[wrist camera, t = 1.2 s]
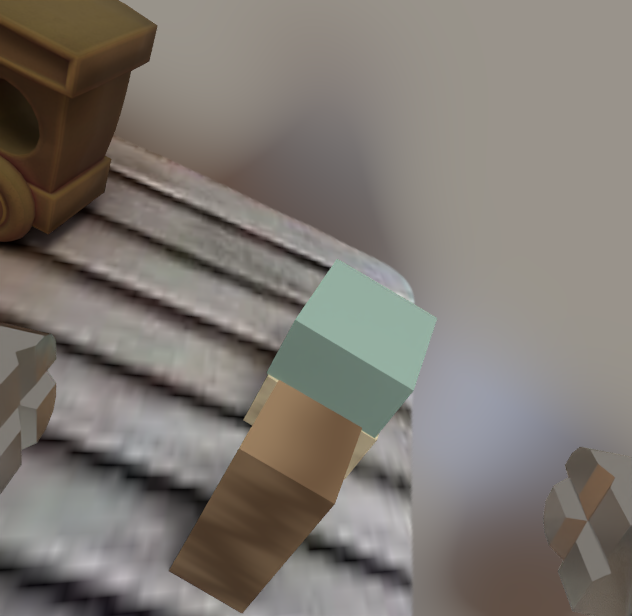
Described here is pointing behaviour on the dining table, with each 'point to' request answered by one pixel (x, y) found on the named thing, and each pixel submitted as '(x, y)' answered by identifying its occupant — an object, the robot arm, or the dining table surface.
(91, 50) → the wooden toy train
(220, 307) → the dining table surface
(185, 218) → the dining table surface
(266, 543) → the walnut post
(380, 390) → the upper block
